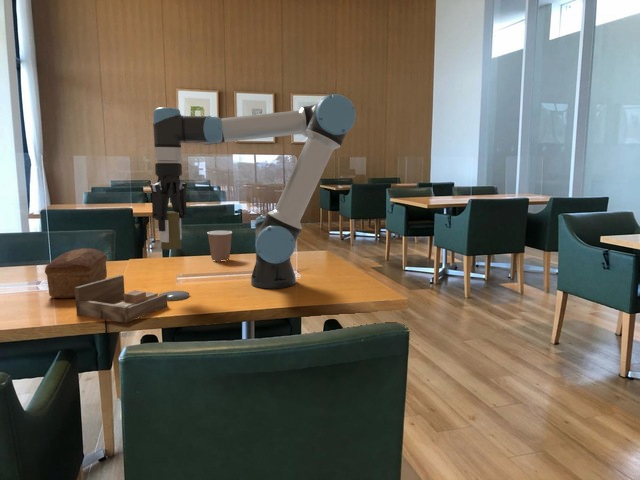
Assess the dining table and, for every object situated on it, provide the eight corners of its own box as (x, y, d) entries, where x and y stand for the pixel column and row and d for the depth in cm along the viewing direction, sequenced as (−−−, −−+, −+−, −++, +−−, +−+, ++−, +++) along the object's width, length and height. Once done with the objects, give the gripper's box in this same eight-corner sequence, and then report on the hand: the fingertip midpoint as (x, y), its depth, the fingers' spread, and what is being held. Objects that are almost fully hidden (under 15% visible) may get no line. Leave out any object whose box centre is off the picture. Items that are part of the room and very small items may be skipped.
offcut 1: (135, 315, 130) (134, 303, 129) (123, 320, 126) (123, 307, 126) (123, 314, 131) (122, 301, 131) (112, 318, 128) (111, 305, 127)
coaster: (195, 294, 151) (195, 292, 151) (176, 301, 143) (176, 299, 143) (172, 291, 154) (171, 289, 154) (152, 298, 146) (152, 296, 146)
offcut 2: (146, 311, 134) (145, 291, 133) (136, 315, 130) (135, 295, 129) (135, 309, 135) (134, 290, 135) (124, 313, 132) (123, 293, 131)
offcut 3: (158, 306, 138) (157, 293, 138) (148, 310, 134) (147, 296, 134) (147, 305, 140) (146, 291, 139) (137, 309, 136) (136, 295, 135)
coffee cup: (238, 259, 206) (237, 231, 204) (221, 263, 197) (220, 234, 195) (220, 257, 211) (219, 229, 209) (202, 261, 202) (201, 232, 200)
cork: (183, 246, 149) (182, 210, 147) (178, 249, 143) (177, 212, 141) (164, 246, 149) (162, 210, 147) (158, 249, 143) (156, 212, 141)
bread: (41, 302, 142) (38, 261, 140) (69, 279, 169) (66, 245, 167) (92, 299, 145) (89, 259, 143) (111, 278, 172) (109, 244, 170)
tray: (167, 306, 138) (166, 280, 137) (125, 322, 124) (123, 294, 123) (121, 299, 145) (120, 275, 144) (76, 314, 130) (74, 287, 129)
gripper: (178, 162, 152) (180, 235, 155) (135, 162, 135) (139, 244, 139) (198, 162, 149) (199, 237, 153) (157, 162, 132) (160, 246, 136)
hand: (171, 240), depth 146 cm, fingers closed on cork, 5 cm apart
